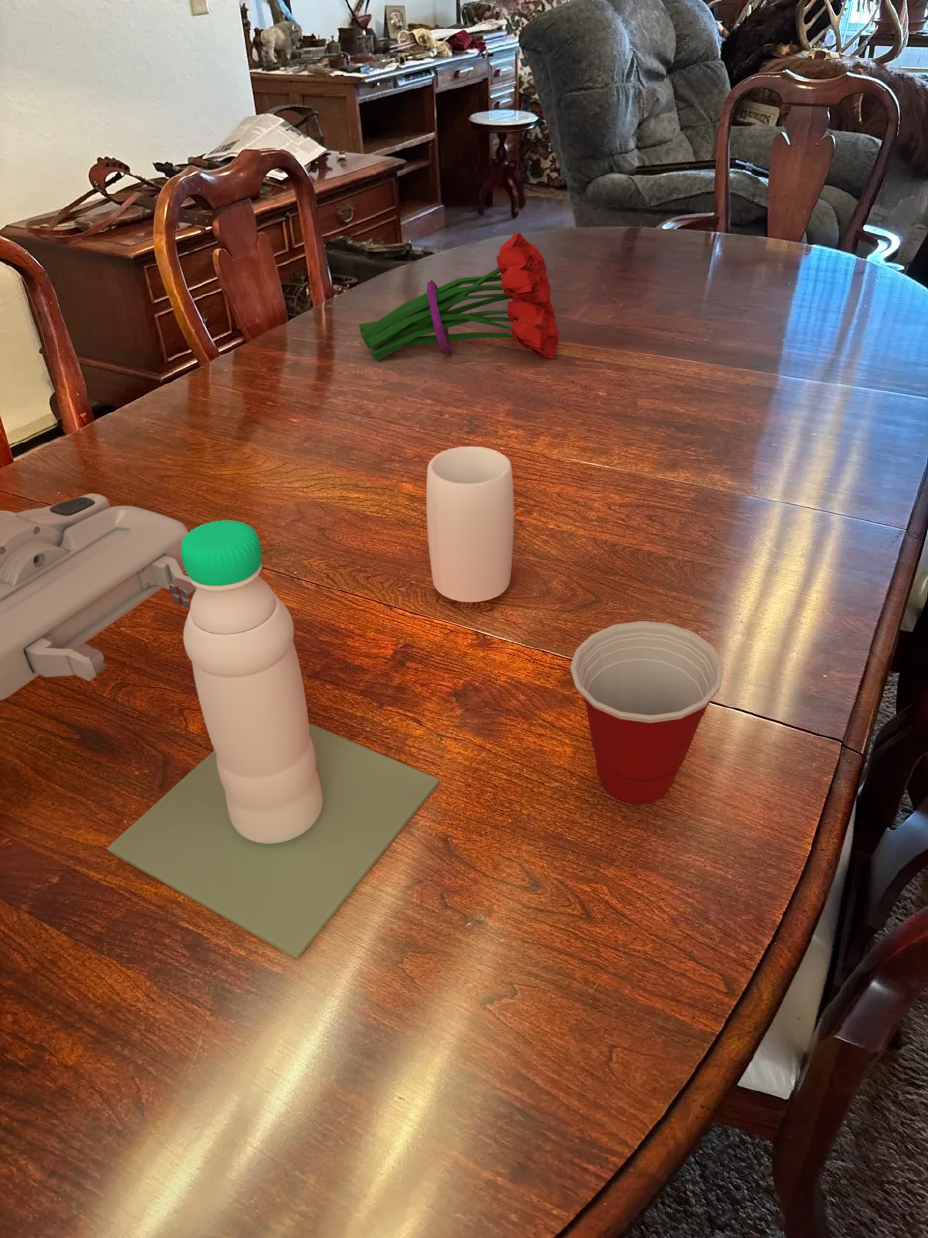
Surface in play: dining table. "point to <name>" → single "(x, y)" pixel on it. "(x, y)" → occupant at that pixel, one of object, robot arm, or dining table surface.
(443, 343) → the bouquet
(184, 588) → the robot arm
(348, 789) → the mat
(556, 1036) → the dining table surface
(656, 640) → the plastic cup
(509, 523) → the cup
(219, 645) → the water bottle
